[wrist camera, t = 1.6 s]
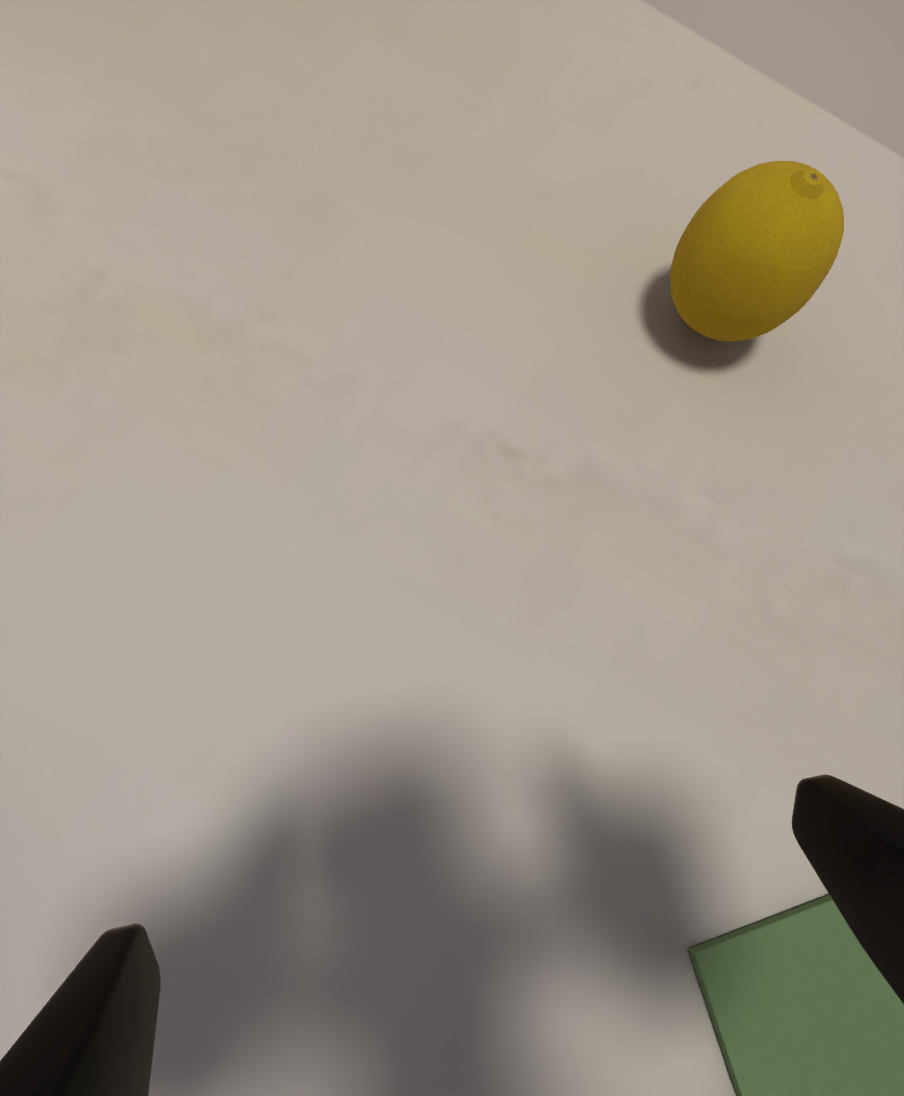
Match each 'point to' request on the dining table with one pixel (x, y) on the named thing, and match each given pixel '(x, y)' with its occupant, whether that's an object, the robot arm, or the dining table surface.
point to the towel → (802, 1007)
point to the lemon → (756, 250)
